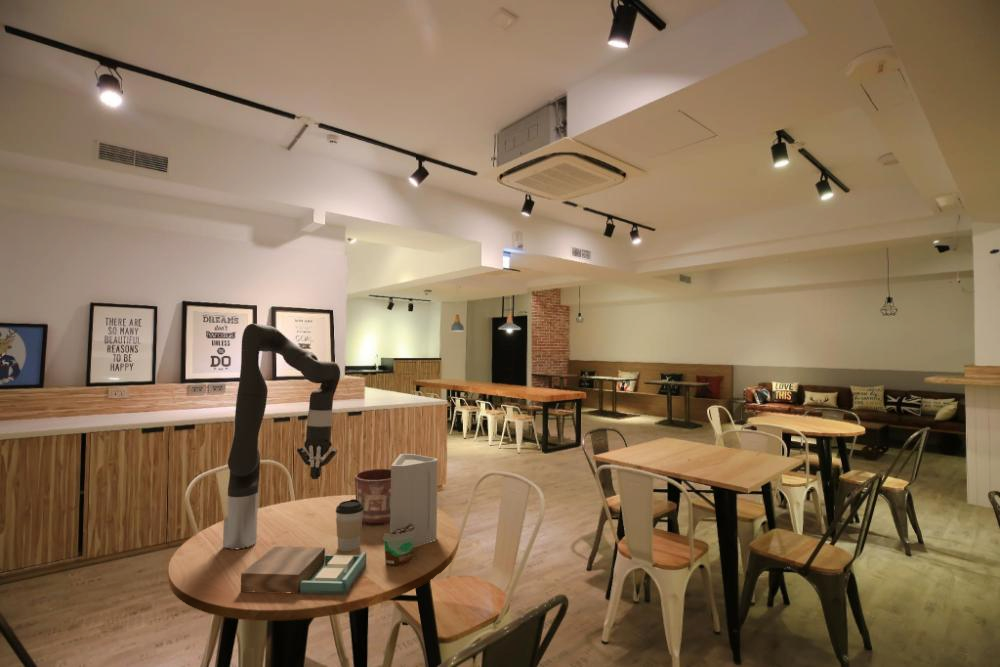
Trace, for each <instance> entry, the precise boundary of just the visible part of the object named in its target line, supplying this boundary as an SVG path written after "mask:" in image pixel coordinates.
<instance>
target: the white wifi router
mask: <svg viewBox="0 0 1000 667" xmlns="http://www.w3.org/2000/svg"><path fill="white" fill-rule="evenodd" d="M390 467H391V468H390V469H391V502H390V522H389V534H391V533H392V532H394V531H395V530H397V529H401V528H404V527H407V526H409V523H412V524H414V526H415V528H416V535H415V536H414V542H413V548H416V547H415V546H417V547H419V546H418V545H420V546H422V545H421V544H424V543H427V542H430V541H433V540H437V528H438V527H437V526H438V525H437V524H438V523H437V522H438V520H437V518H438V516H437V515H438V478H439V477H438V473H439V459H438V458H436V457H431V456H426V455H420V454H414V453H401V454H399V455H398V456H397V458H396V459H395V460H394V461H393V462H392V464H391V466H390ZM430 543H431V542H430ZM427 544H428V543H427ZM424 545H425V544H424Z"/></svg>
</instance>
